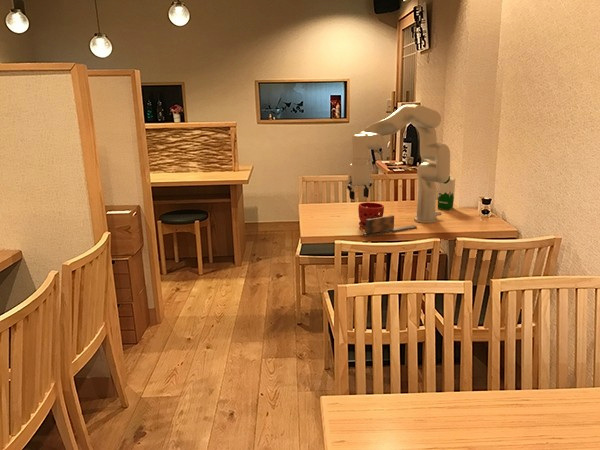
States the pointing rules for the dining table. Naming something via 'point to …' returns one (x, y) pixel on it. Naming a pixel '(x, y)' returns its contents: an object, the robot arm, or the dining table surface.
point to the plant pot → (369, 212)
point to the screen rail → (390, 230)
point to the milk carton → (446, 194)
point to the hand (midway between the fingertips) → (359, 197)
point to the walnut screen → (379, 224)
